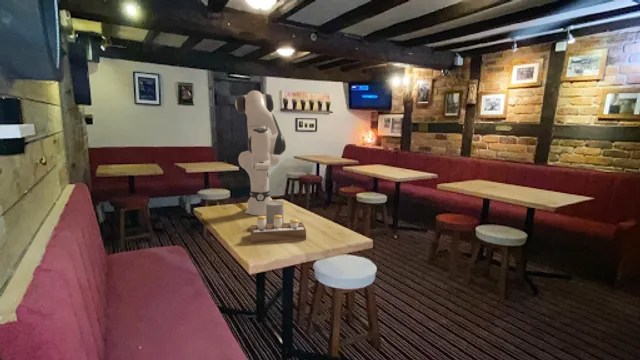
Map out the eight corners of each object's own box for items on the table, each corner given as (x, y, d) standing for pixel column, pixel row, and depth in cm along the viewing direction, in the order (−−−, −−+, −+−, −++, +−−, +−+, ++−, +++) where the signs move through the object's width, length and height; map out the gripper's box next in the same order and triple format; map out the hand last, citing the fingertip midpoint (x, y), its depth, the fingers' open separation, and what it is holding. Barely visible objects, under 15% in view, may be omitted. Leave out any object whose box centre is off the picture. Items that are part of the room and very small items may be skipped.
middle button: (273, 230, 166) (273, 215, 165) (281, 229, 167) (281, 214, 166) (274, 232, 163) (274, 217, 161) (282, 232, 163) (282, 216, 162)
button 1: (257, 231, 165) (256, 215, 163) (265, 230, 166) (265, 215, 164) (257, 233, 161) (257, 218, 159) (266, 233, 162) (265, 217, 160)
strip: (253, 230, 159) (253, 229, 159) (303, 227, 164) (303, 226, 164) (253, 232, 157) (253, 231, 156) (303, 229, 161) (304, 228, 161)
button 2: (289, 234, 169) (289, 219, 167) (297, 233, 169) (297, 218, 168) (290, 236, 165) (290, 221, 163) (298, 236, 165) (298, 221, 164)
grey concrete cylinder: (280, 228, 179) (280, 205, 177) (263, 226, 181) (263, 204, 179) (285, 222, 188) (285, 201, 186) (269, 221, 190) (269, 200, 188)
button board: (251, 234, 169) (251, 224, 168) (302, 231, 174) (302, 222, 173) (251, 243, 157) (251, 232, 156) (306, 239, 162) (306, 229, 161)
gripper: (253, 160, 167) (254, 187, 169) (254, 166, 147) (255, 196, 149) (266, 160, 168) (267, 187, 170) (269, 166, 148) (269, 196, 151)
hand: (261, 192), depth 160 cm, fingers closed
